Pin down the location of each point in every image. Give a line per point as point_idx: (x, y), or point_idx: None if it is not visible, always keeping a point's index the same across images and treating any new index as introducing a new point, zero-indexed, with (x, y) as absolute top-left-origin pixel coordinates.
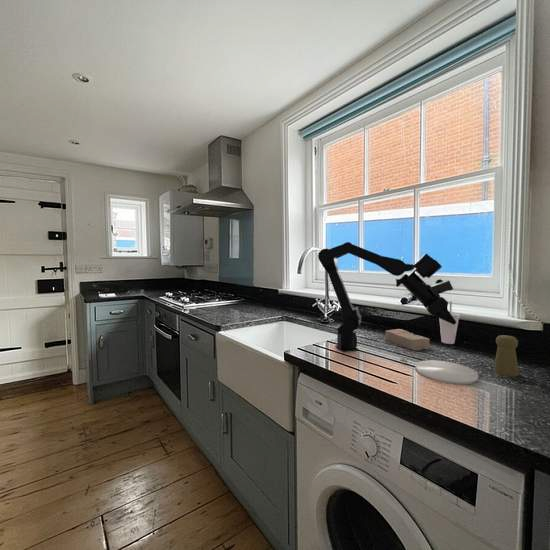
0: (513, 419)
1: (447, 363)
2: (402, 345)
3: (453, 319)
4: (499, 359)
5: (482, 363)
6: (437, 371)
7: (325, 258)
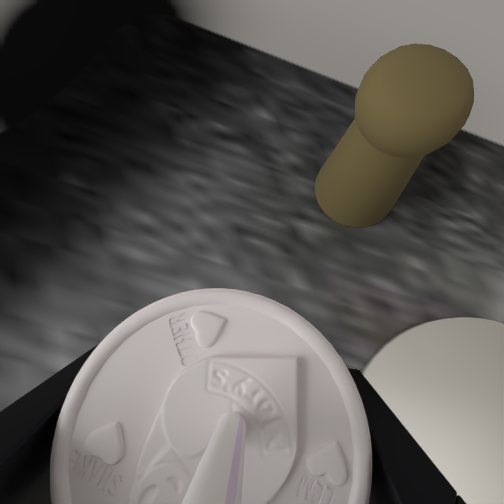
0: None
1: None
2: None
3: (388, 416)
4: (397, 191)
5: (256, 233)
6: None
7: None
